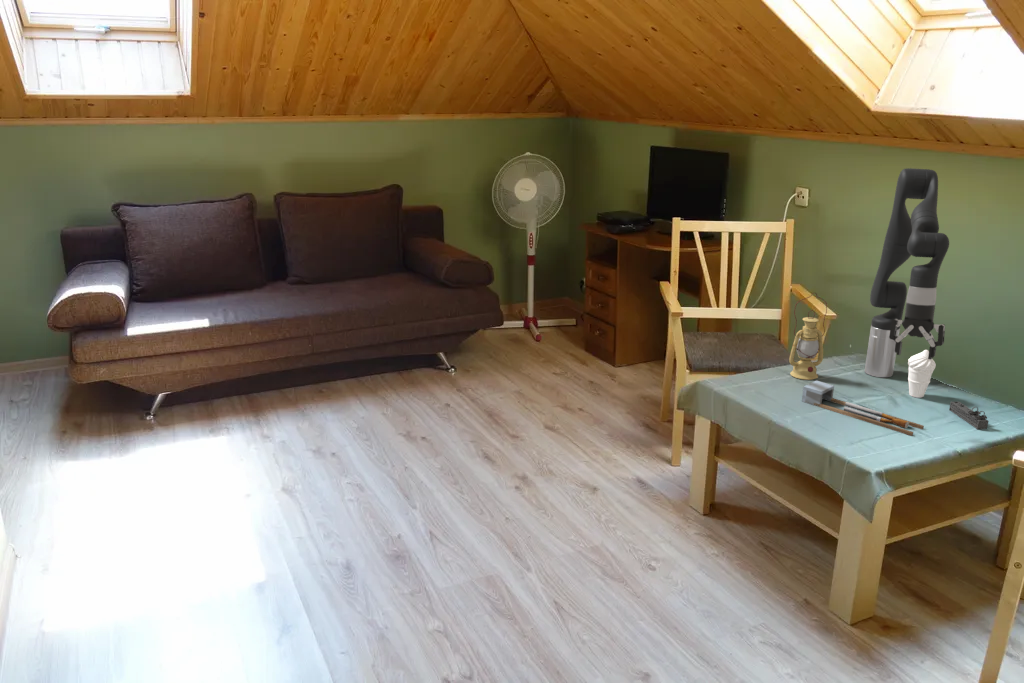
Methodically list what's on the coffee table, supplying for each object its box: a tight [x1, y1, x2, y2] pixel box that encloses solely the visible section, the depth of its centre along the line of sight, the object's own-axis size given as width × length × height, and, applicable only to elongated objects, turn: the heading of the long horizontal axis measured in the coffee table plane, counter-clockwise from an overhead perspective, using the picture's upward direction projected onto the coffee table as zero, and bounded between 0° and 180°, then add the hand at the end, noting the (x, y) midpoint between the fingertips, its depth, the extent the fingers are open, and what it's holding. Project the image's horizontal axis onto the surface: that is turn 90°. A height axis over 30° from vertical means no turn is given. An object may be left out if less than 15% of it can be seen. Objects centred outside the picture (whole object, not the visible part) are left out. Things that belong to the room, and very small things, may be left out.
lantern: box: [788, 292, 828, 381], centre depth 281 cm, size 12×10×30 cm
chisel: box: [843, 401, 909, 429], centre depth 251 cm, size 19×3×3 cm
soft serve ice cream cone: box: [907, 349, 937, 399], centre depth 266 cm, size 8×8×16 cm
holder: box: [801, 379, 925, 437], centre depth 253 cm, size 8×35×5 cm, turn 41°
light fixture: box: [948, 401, 989, 431], centre depth 250 cm, size 3×15×6 cm, turn 3°
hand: (914, 356), depth 239 cm, fingers open, 8 cm apart
